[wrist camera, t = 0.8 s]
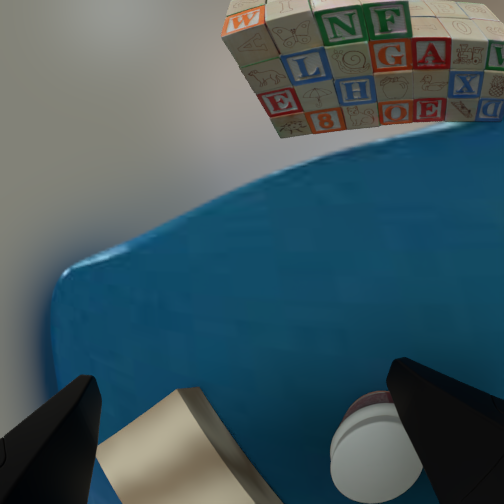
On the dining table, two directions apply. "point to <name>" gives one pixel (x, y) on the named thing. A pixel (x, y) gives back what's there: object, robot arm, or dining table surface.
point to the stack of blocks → (368, 61)
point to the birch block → (181, 457)
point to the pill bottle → (373, 451)
